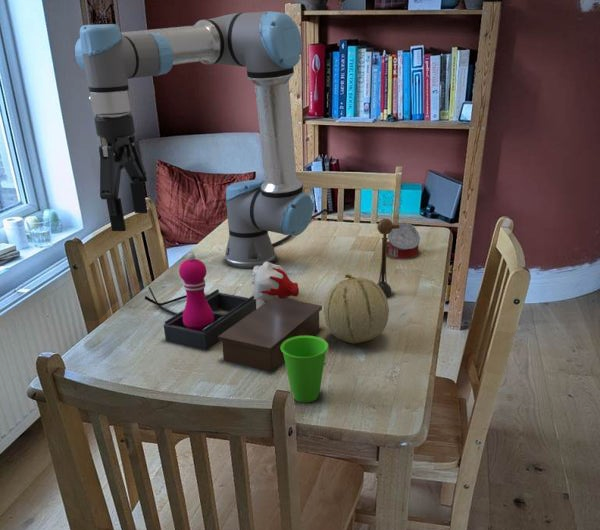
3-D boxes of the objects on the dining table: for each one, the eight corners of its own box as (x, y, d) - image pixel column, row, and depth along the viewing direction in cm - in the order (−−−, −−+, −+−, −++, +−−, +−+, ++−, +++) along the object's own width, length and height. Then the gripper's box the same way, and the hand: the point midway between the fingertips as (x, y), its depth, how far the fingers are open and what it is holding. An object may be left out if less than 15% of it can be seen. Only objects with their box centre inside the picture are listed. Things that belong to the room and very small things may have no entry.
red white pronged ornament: (254, 286, 174) (306, 298, 171) (237, 302, 165) (292, 315, 161) (256, 255, 169) (309, 267, 166) (239, 269, 160) (295, 282, 156)
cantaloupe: (370, 360, 137) (372, 295, 129) (311, 345, 144) (310, 282, 136) (398, 334, 148) (402, 272, 140) (343, 321, 155) (343, 261, 147)
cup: (281, 385, 129) (278, 336, 123) (325, 382, 129) (325, 333, 124) (284, 409, 121) (281, 358, 115) (331, 406, 122) (331, 355, 116)
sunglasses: (155, 294, 172) (152, 277, 170) (208, 294, 171) (206, 277, 169) (138, 320, 158) (135, 302, 155) (196, 320, 157) (193, 301, 155)
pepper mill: (210, 343, 146) (200, 259, 136) (180, 341, 147) (168, 257, 137) (219, 330, 152) (211, 248, 142) (191, 328, 153) (180, 247, 143)
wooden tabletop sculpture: (394, 290, 170) (398, 215, 160) (396, 297, 166) (400, 221, 156) (372, 291, 170) (374, 216, 160) (373, 298, 166) (376, 221, 156)
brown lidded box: (274, 319, 157) (273, 296, 153) (322, 328, 151) (322, 305, 148) (220, 361, 139) (217, 336, 135) (272, 373, 133) (270, 347, 130)
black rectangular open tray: (218, 306, 164) (217, 288, 162) (256, 314, 160) (255, 295, 157) (165, 340, 148) (162, 321, 145) (206, 350, 143) (204, 330, 141)
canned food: (414, 264, 200) (432, 238, 194) (401, 271, 192) (419, 244, 186) (387, 243, 203) (404, 216, 197) (373, 248, 195) (390, 221, 189)
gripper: (118, 106, 137) (133, 205, 148) (67, 124, 116) (90, 238, 127) (151, 106, 136) (165, 206, 147) (107, 123, 115) (126, 239, 126)
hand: (130, 221), depth 137 cm, fingers open, 13 cm apart
